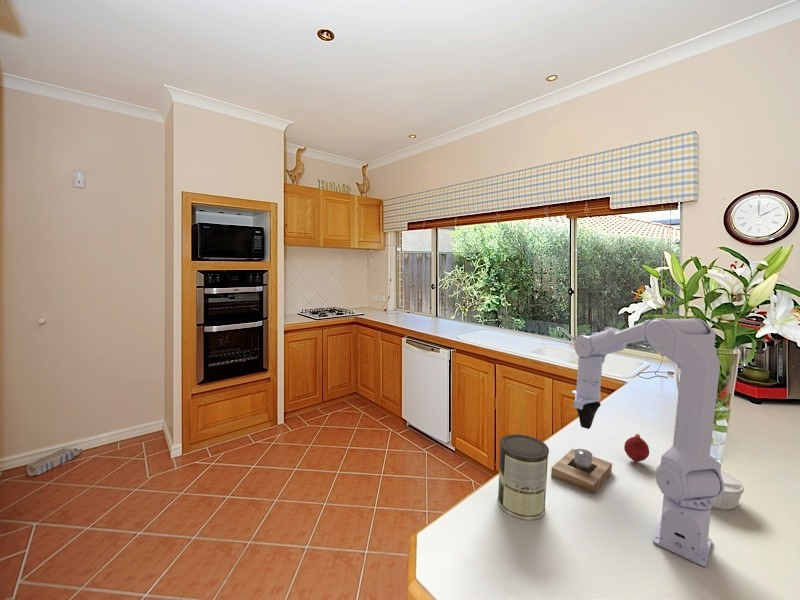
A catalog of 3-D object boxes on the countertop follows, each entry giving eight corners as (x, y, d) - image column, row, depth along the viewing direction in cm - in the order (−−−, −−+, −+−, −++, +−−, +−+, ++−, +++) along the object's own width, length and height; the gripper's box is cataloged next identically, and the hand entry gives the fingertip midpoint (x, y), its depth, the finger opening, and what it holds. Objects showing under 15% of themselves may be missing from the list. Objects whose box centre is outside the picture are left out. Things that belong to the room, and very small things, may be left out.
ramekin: (718, 517, 76) (721, 494, 76) (667, 486, 87) (669, 466, 87) (754, 509, 79) (757, 487, 79) (700, 480, 90) (702, 460, 90)
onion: (652, 468, 95) (654, 440, 94) (628, 466, 96) (631, 437, 95) (642, 457, 101) (644, 430, 100) (619, 455, 102) (622, 428, 101)
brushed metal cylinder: (588, 481, 89) (589, 458, 88) (571, 474, 91) (572, 452, 91) (592, 474, 92) (594, 452, 91) (576, 468, 94) (577, 447, 94)
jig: (593, 495, 83) (593, 485, 83) (551, 476, 90) (551, 467, 90) (611, 472, 93) (612, 463, 93) (572, 457, 100) (572, 448, 100)
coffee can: (488, 495, 82) (490, 437, 81) (523, 486, 86) (526, 431, 85) (517, 525, 73) (521, 460, 72) (556, 514, 76) (559, 452, 75)
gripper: (582, 371, 104) (580, 415, 105) (563, 381, 94) (560, 430, 95) (609, 376, 99) (606, 423, 100) (591, 388, 89) (588, 439, 90)
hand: (585, 427), depth 97 cm, fingers closed
